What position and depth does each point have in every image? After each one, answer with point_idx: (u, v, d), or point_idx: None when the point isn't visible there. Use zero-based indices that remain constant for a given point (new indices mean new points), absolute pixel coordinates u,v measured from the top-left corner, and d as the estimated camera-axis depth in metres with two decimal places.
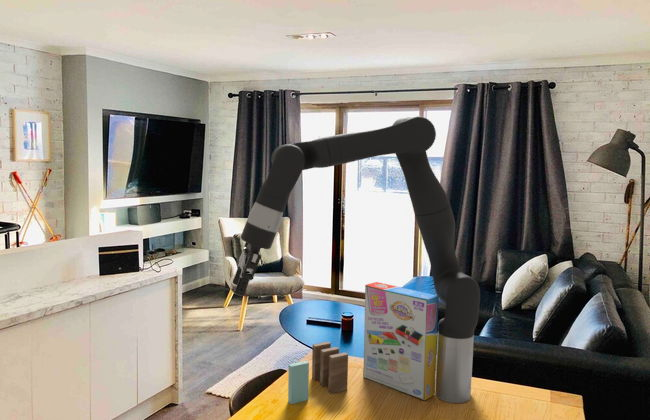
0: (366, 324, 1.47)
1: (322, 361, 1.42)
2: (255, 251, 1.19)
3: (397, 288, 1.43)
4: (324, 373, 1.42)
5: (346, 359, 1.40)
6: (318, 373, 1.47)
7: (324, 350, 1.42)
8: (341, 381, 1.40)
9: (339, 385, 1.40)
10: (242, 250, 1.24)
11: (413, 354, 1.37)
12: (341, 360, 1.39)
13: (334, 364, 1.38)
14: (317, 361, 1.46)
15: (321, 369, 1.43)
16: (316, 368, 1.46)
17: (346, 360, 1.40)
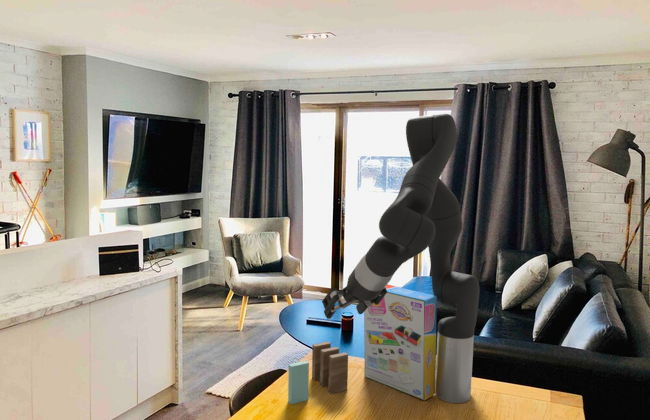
0: (366, 324, 1.47)
1: (322, 361, 1.42)
2: None
3: (395, 288, 1.42)
4: (324, 373, 1.42)
5: (346, 359, 1.40)
6: (318, 373, 1.47)
7: (324, 350, 1.42)
8: (341, 381, 1.40)
9: (339, 385, 1.40)
10: (353, 302, 1.14)
11: (413, 354, 1.36)
12: (341, 360, 1.39)
13: (334, 364, 1.38)
14: (317, 361, 1.46)
15: (321, 369, 1.43)
16: (316, 368, 1.46)
17: (346, 360, 1.40)
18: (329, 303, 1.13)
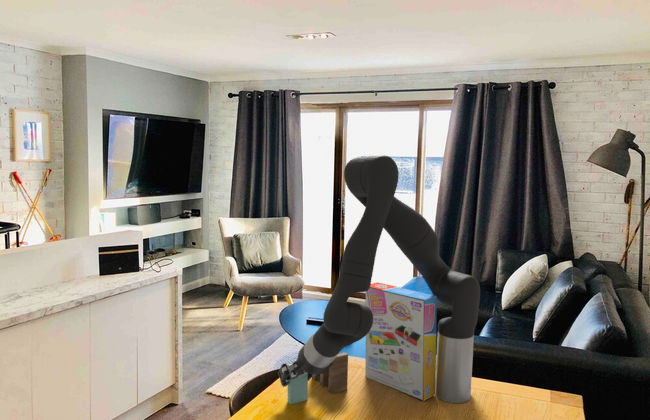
0: None
1: None
2: None
3: (397, 288, 1.43)
4: (324, 373, 1.42)
5: (346, 359, 1.40)
6: None
7: None
8: (341, 381, 1.40)
9: (339, 385, 1.40)
10: (303, 374, 1.27)
11: (412, 354, 1.36)
12: (341, 360, 1.39)
13: (334, 364, 1.38)
14: None
15: None
16: None
17: (346, 360, 1.40)
18: (282, 377, 1.26)
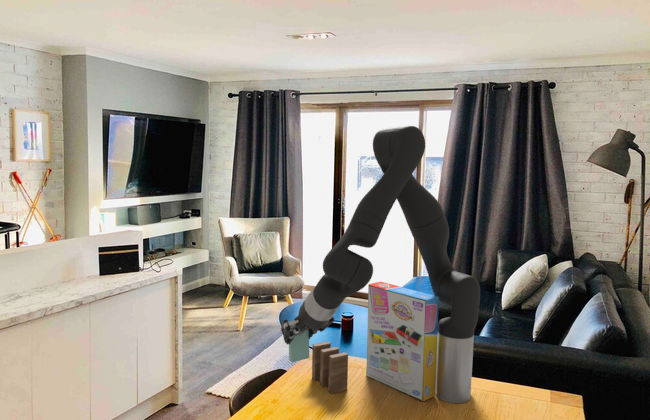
0: (369, 323, 1.48)
1: (322, 361, 1.42)
2: None
3: (399, 288, 1.43)
4: (324, 373, 1.42)
5: (346, 359, 1.40)
6: (318, 373, 1.47)
7: (324, 350, 1.42)
8: (341, 381, 1.40)
9: (339, 385, 1.40)
10: (305, 330, 1.26)
11: (413, 354, 1.36)
12: (341, 360, 1.39)
13: (334, 364, 1.38)
14: (317, 361, 1.46)
15: (321, 369, 1.43)
16: (316, 368, 1.46)
17: (346, 360, 1.40)
18: (284, 333, 1.26)
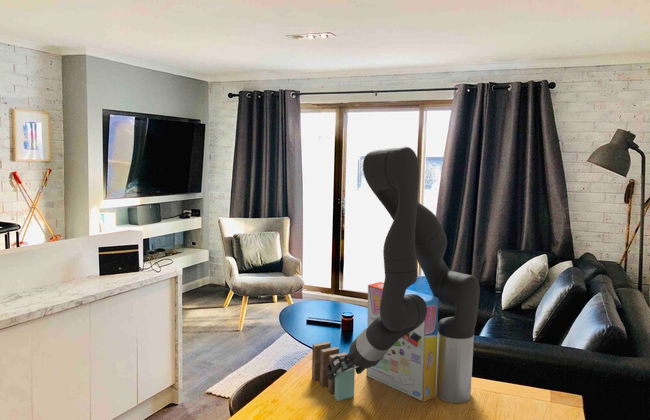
0: (369, 324, 1.47)
1: (322, 361, 1.42)
2: None
3: None
4: (324, 373, 1.42)
5: None
6: (318, 373, 1.47)
7: (324, 350, 1.42)
8: None
9: None
10: (354, 367, 1.29)
11: (413, 355, 1.36)
12: None
13: None
14: (317, 361, 1.46)
15: (321, 369, 1.43)
16: (316, 368, 1.46)
17: None
18: (333, 369, 1.28)
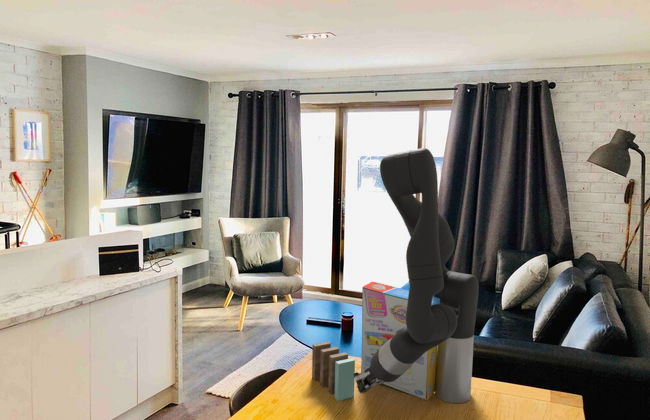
0: (364, 325, 1.44)
1: (322, 361, 1.42)
2: None
3: (396, 290, 1.40)
4: (324, 373, 1.42)
5: None
6: (318, 373, 1.47)
7: (324, 350, 1.42)
8: None
9: None
10: (376, 382, 1.22)
11: None
12: None
13: (334, 364, 1.38)
14: (317, 361, 1.46)
15: (321, 369, 1.43)
16: (316, 368, 1.46)
17: None
18: (358, 385, 1.23)
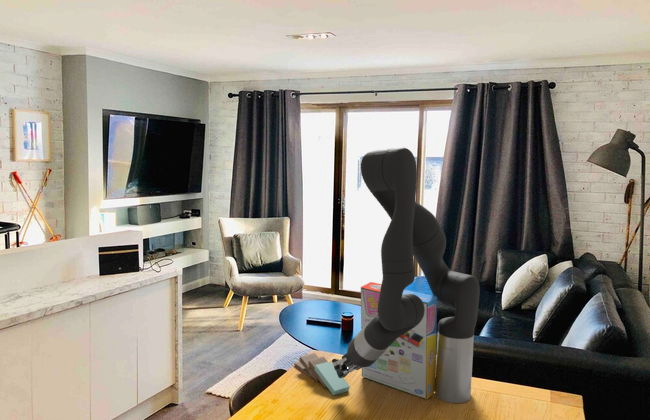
0: (363, 326, 1.45)
1: (304, 362, 1.50)
2: None
3: None
4: None
5: (324, 359, 1.49)
6: None
7: None
8: None
9: None
10: (352, 367, 1.30)
11: (414, 355, 1.36)
12: (320, 361, 1.49)
13: (314, 364, 1.47)
14: (304, 367, 1.53)
15: (308, 369, 1.49)
16: (306, 370, 1.51)
17: (325, 360, 1.49)
18: (336, 370, 1.31)
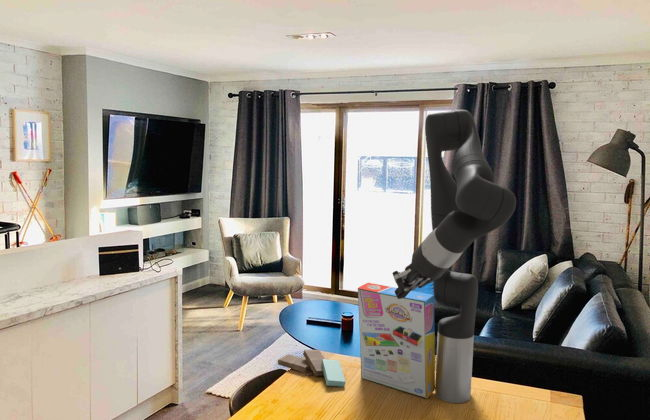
0: (361, 326, 1.45)
1: (285, 362, 1.54)
2: None
3: (391, 289, 1.41)
4: (295, 363, 1.53)
5: (319, 352, 1.57)
6: (308, 371, 1.51)
7: None
8: None
9: None
10: (417, 281, 1.10)
11: (413, 354, 1.36)
12: (314, 352, 1.56)
13: (308, 353, 1.54)
14: None
15: (292, 366, 1.53)
16: None
17: (319, 353, 1.56)
18: (397, 285, 1.11)
